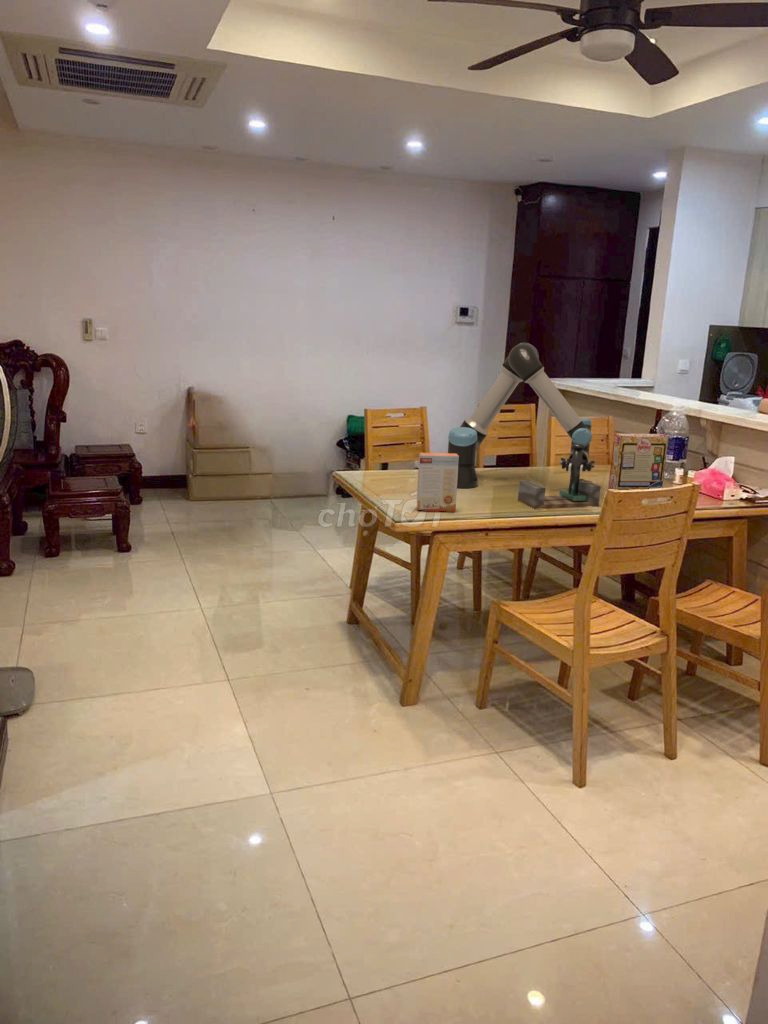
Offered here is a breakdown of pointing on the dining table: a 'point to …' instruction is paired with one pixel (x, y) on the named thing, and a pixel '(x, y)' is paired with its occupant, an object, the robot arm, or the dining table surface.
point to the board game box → (638, 461)
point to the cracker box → (437, 481)
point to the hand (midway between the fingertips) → (575, 470)
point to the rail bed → (557, 496)
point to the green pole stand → (575, 476)
